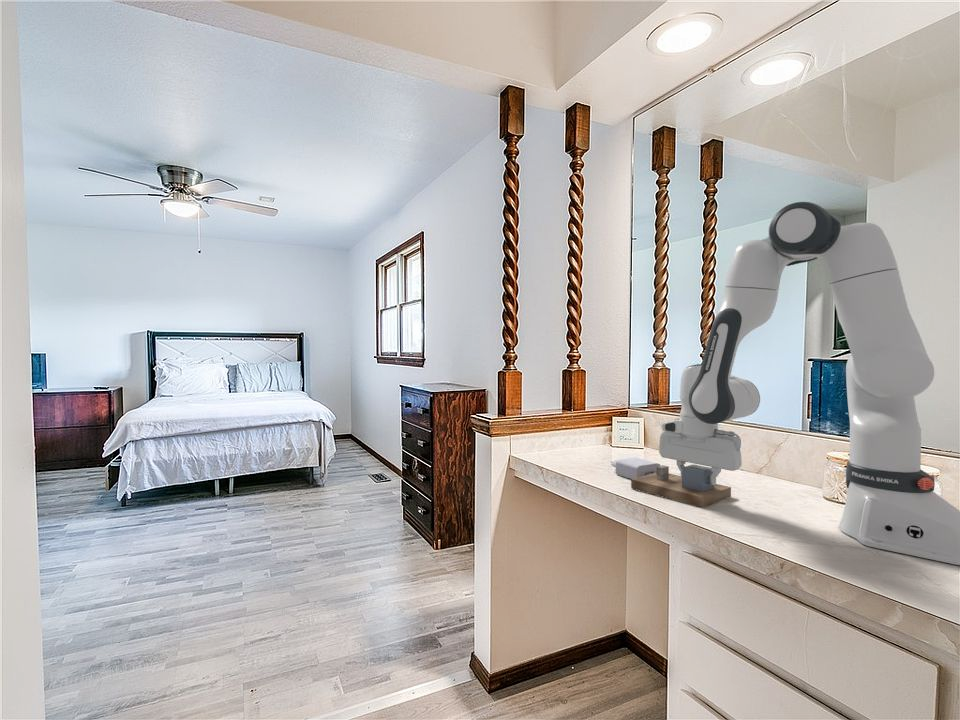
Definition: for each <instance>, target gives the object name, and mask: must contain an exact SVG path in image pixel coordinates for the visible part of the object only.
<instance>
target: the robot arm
mask: <svg viewBox="0 0 960 720" xmlns="http://www.w3.org/2000/svg"><path fill="white" fill-rule="evenodd" d="M817 259H819V260H821V261H822V263H823V264H824V266H825V269H826V273H827V275H828V280H829V284H830V288H831V289H830V290H831V292H832V296H833V301H834V306H835V310H836V314H837V319H838V322H839V324H840V326H841V328H842V332H843V333H844V336H845V340H846V342H847V345H848V348H849V351H850V354H851V355H850V356H849V357H848V358H847V361H846V364H845V365H846V366H845V380H846V395H847V398H846V399H847V407H848V419H849V457H848V459H849V461H847V462H846V467H845V484H846V488H847V493H846V499H845V504H844V509H843V513H842V515H841V516H842V517H841V518H840V521H839V524H838V529H839V530H840V531H841V532H842V533H844V534H846V535H848V536H850V537H852V538H854V539H856V540H857V541H858V542H859V543H860V544H862V545H863V546H867V547H871V548H875V549H880V550H885V551H890V552H895V553H899V554H904V555H908V556H915V557H918V558H923V559H927V560H928V559H929V560H931V561H932V560H933V561H937V562H942V563H947V564H951V565H956V566H960V510H959V509H958V508H956V507H955V506H954V505H953V504H951V503H950V502H948V501H946V500H945V499H944V498H943V497H941V496H940V495H938V494H937V493H936V492H934V491H935V481H936V480H935V478H936V477H935V475H934V474H931V475H930V474H929V473H928V472H926V471H925V470H923V469H921V462H922V461H921V459H922V457H921V456H922V455H921V454H922V453H921V451H922V427H921V425H920V423H919V418H918V414H917V407H916V400H915V397H916V396H919V395H920V394H921V393H923V392H925V391H926V390H927V389H928V388H929V387H931V386H930V385H931V384H932V382H933V380H934V377H935V369H934V368H935V367H934V364H933V362H932V361H931V358H929V356H928V354H927V350H926V348H925V345H924V342H923V340H922V337H921V335H920V332H919V329H918V328H917V326H916V323H915V321H914V319H913V317H912V315H911V312H910V309H909V307H908V303H907V300H906V295H905V291H904V288H903V287H904V286H903V283H902V280H901V275H900V271H899V268H898V263H897V261H896V257H895V254H894V252H893V249H892V247H891V244H890V243H889V240H888V238H887V237H886V234H885V233H884V231H883V229H882V227H880V226H879V225H877V224H875V223H871V222H855V223H851V224H847V225H842V223H841V221H839V220H838V219H837V218H835V217H834V216H833V215H832V214H830V212H828V210H827V209H825V208H823V207H822V206H821V205H818V204H816V203H813V202H810V201H797V202H792V203H789V204H787V205H785V206H783V207H781V208H780V210H778V211H777V212H776V213H775V214H774V215H773V217H772V219H771V221H770V223H769V227H768V236H767V237H765V238H763V239H750V240H748V241H744V242H743V243H741V244H739V245H738V246H737V247H736V248H735V250H734V252H733V255H732V256H731V260H730V263H729V267H728V269H727V272H726V273H727V274H726V278H725V283H724V288H723V295H722V299H721V303H720V306H719V310H718V312H717V314H716V316H715V318H714V321H713V323H712V326H711V329H710V332H709V335H708V339H707V343H706V347H705V351H704V355H703V357H702V361H701V363H699V364H692V365H689V366H686V367H685V368H683V371H682V372H681V377H680V378H681V379H680V386H679V387H680V388H679V389H680V390H679V398H680V402H681V409H680V412H679V418H678V419H674V420H670V421H666V422H663V423H662V424H661V430H662V431H663V432H661V434H660V435H659V444H658V453H659V455H660V456H661V458H664V459H669V460H674V461H676V466H677V468H678V470H679V472H680V476H681V478H682V467H686V466H685V465H686V463H689V464H694V465H699V466H704V467H709V468H711V471H714V472H713V474H712V475H711V476H709V477H707V480H708V481H707V484H711V485H715V484H717V477H718V476H719V474H720V473H721V472H722V470H726V471H729V472H730V471H731V472H735V471H738V470H739V469H740V468H741V467H742V462H743V461H742V452H741V446H742V439H741V437H740V436H739V435H738V434H737V433H735V431H730V430H729V431H727V430H723V429H719V427H718V426H719V423H723V422H725V421H726V422H727V421H730V420H736V419H741V418H745V417H748V416H750V415H752V414H755V412H756V411H757V410H758V409H759V406H760V403H761V395H760V392H759V390H758V388H757V386H756V385H755V384H754V383H753V382H752V381H750V380H748V379H744V378H741V377H738V376H735V375H732V371H733V367H734V363H735V359H736V354H737V351H738V348H739V345H740V343H741V342H742V341H743V340H744V338H745V337H746V336H747V335H748V334H750V333H751V332H752V331H754V330H756V329H757V328H759V327H761V326H762V325H764V324H765V323H767V322H768V321H769V320H770V318H771V317H772V316H773V314H774V311H775V308H776V305H777V302H778V297H779V296H778V295H779V290H780V282H781V276H782V275H783V271H784V269H785V268H786V267H789V266H793V265H794V266H795V265H798V264H802V263H807V262H811V261H812V262H813V261H814V260H817Z"/></svg>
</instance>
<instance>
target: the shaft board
mask: <svg viewBox="0 0 960 720" xmlns="http://www.w3.org/2000/svg"><path fill="white" fill-rule="evenodd" d="M669 467H670V466H668V465H661V466H658V467H656V473H653V474H649V475H646V476H642V477H638V478H635V479H630V488H633V489H632V490H635V489H637V490H636V491H638V490H640V491H639V492H642V491H644V492H643V493H646V492H648V493H647V494H650V493H651V494H650V495H653V494H655V495H654V496H657V495H659V496H658V497H661V496H663V497H662V498H665V497H667V498H666V499H669V498H670V500H672V499H674V500H673V501H676V500H677V502H680V501H681V503H684V504H687V503H688V505H691V506H695V507H700V508H702V507H703V508H706V507H708V505H709V506H711V505H713V503H714V504H717V503H719V502H721V500H722V501H724V500H726V499H729V498H732V487H731V486H728V485H724V484H718V483H716V484H715V485H714V488H713V489H710V490H707V491H704V492H701V491H697V490H693V489H689V488H684V487H682V478H681V475H679V474H673V473H669V472H670V471H669V470H670V469H669ZM718 501H719V502H718ZM705 506H706V507H705Z"/></svg>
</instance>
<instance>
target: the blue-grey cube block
mask: <svg viewBox="0 0 960 720" xmlns="http://www.w3.org/2000/svg"><path fill="white" fill-rule="evenodd" d="M713 472H714V471H711V467H709V466H704V465H699V464H694V463H692V464H690V465H689V464H688V465H686V466H685V467H682V487H684V488H689V489H693V490H697V491H701V492H704V491H707V490H710V489H713V488H714V485H711V484H707V481H708V480H707V477H709V476H711V475H712V474H713Z"/></svg>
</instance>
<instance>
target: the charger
mask: <svg viewBox="0 0 960 720" xmlns="http://www.w3.org/2000/svg"><path fill="white" fill-rule="evenodd" d="M610 466H612V467H613V468H615V474H616V475H617V476H620V477H623V478H626V479H629V480H631V479H635V478H638V477H642V476H646V475H649V474H653V473H656V467H658V466H662V465H661V464H660V463H657V462H654V461H649V460H646V459H644V458H640V457H631V458H630V457H629V458H628V457H627V458H620V459H615V460H614V461H610Z"/></svg>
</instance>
